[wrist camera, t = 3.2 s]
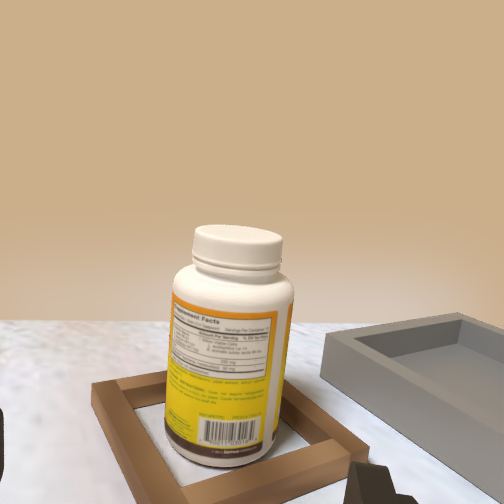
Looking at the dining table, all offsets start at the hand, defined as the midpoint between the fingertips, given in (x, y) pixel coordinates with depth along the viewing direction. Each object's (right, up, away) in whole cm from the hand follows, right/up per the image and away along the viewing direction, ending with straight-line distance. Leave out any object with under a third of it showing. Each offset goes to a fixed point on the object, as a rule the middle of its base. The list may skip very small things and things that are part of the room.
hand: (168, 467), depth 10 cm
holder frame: (0, -4, +12) cm, 13 cm away
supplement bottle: (0, -4, +12) cm, 13 cm away
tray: (+16, -5, +17) cm, 24 cm away
